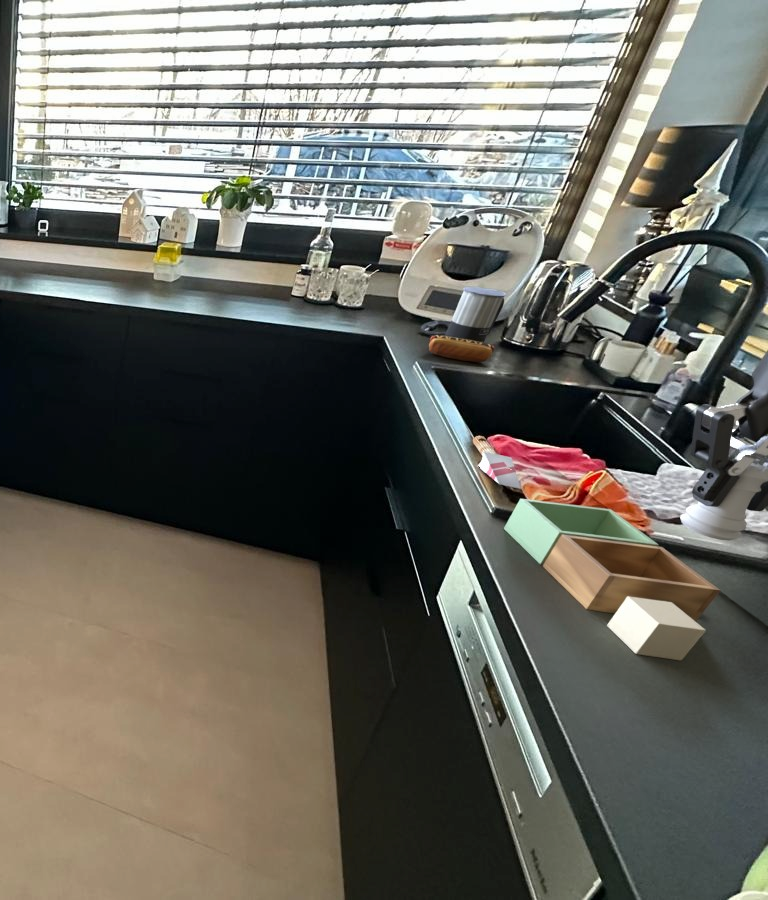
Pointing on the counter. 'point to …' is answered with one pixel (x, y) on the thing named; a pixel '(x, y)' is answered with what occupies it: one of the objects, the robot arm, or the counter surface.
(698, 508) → the rook chess piece
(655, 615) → the cream block
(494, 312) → the milk frother
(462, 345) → the hot dog
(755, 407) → the robot arm
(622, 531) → the sage bin
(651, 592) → the oak bin
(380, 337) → the counter surface
